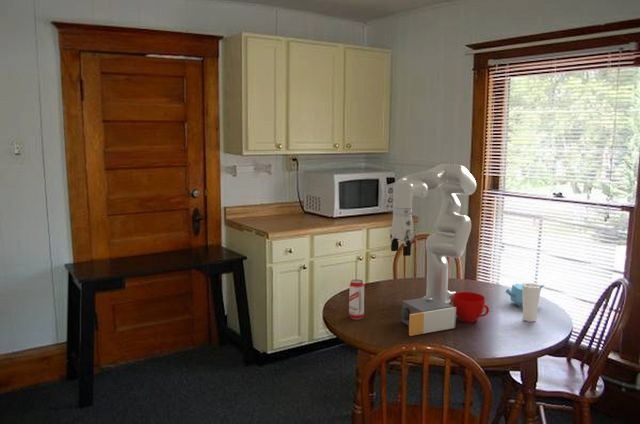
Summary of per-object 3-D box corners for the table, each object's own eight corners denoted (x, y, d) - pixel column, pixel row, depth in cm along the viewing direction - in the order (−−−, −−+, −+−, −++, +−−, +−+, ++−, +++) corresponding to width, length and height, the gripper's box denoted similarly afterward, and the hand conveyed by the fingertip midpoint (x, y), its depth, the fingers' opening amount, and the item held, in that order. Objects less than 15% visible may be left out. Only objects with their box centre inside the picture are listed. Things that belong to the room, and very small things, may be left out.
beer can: (355, 313, 234) (356, 278, 232) (366, 317, 230) (367, 281, 227) (346, 317, 230) (346, 281, 227) (357, 321, 225) (357, 284, 223)
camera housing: (431, 316, 231) (432, 294, 229) (452, 327, 218) (453, 304, 217) (398, 322, 224) (399, 299, 223) (418, 333, 212) (418, 309, 210)
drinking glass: (530, 323, 222) (532, 288, 220) (517, 318, 228) (519, 284, 226) (541, 321, 226) (544, 286, 223) (528, 316, 231) (530, 282, 229)
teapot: (511, 310, 239) (512, 288, 237) (498, 300, 253) (499, 279, 251) (550, 309, 241) (551, 287, 239) (535, 299, 254) (536, 278, 253)
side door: (454, 326, 218) (454, 306, 217) (456, 327, 217) (456, 307, 216) (408, 335, 210) (409, 314, 208) (410, 336, 208) (411, 315, 207)
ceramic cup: (476, 330, 215) (477, 306, 214) (445, 317, 230) (446, 295, 228) (498, 324, 222) (499, 300, 221) (466, 312, 236) (467, 290, 235)
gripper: (421, 214, 214) (419, 257, 216) (399, 209, 230) (397, 248, 232) (405, 215, 211) (403, 258, 213) (384, 209, 227) (382, 249, 229)
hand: (400, 253), depth 223 cm, fingers open, 9 cm apart
